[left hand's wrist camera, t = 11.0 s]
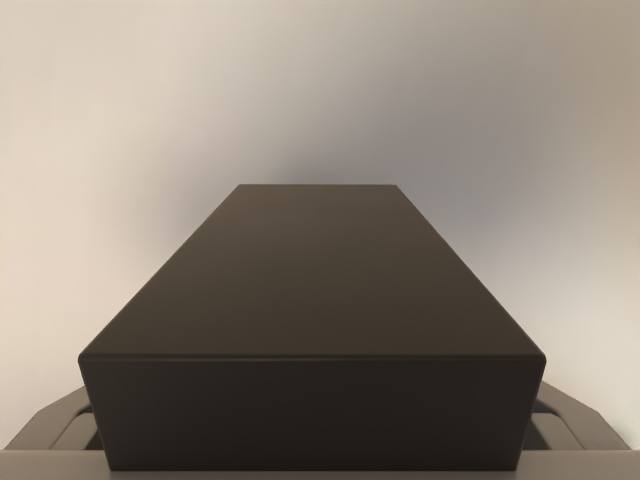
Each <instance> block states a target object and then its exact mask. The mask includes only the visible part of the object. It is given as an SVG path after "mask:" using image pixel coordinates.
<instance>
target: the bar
mask: <svg viewBox="0 0 640 480" xmlns="http://www.w3.org/2000/svg"><path fill="white" fill-rule="evenodd" d="M78 364H79V367H80V371H81V374H82V377H83V381H84V384H85V388H86V391H87V394H88V398H89V401H90V405H91V408H92V411H93V415H94V418H95V422H96V425H97V428H98V432H99V435H100V439H101V442H102V446H103V449H104V452H105V456H106V459H107V463H108V466H109V469H110V470H111V471H516V470H517V466H518V463H519V459H520V456H521V452H522V448H523V445H524V441H525V438H526V434H527V430H528V427H529V423H530V420H531V416H532V412H533V409H534V405H535V402H536V398H537V394H538V391H539V387H540V383H541V380H542V376H543V373H544V369H545V365H546V357H545V354H544V353H543V352H542V351H541V350H540V349H539V348H538V346H537V345H536V344H535V343H534V342H533V341H532V340H531V338H530V337H529V336H528V335H527V334H526V333H525V332H524V330H523V329H522V328H521V327H520V326H519V325H518V324H517V322H516V321H515V320H514V319H513V318H512V317H511V316H510V315H509V313H508V312H507V311H506V310H505V309H504V308H503V307H502V305H501V304H500V303H499V302H498V301H497V300H496V299H495V297H494V296H493V295H492V294H491V293H490V292H489V291H488V289H487V288H486V287H485V286H484V285H483V284H482V283H481V281H480V280H479V279H478V278H477V277H476V276H475V275H474V273H473V272H472V271H471V270H470V269H469V268H468V267H467V265H466V264H465V263H464V262H463V261H462V260H461V259H460V257H459V256H458V255H457V254H456V253H455V252H454V251H453V249H452V248H451V247H450V246H449V245H448V244H447V243H446V241H445V240H444V239H443V238H442V237H441V236H440V235H439V233H438V232H437V231H436V230H435V229H434V228H433V227H432V225H431V224H430V223H429V222H428V221H427V220H426V219H425V217H424V216H423V215H422V214H421V213H420V212H419V211H418V210H417V208H416V207H415V206H414V205H413V204H412V203H411V202H410V200H409V199H408V198H407V197H406V196H405V195H404V194H403V192H402V191H401V190H400V189H399V188H398V187H397V186H396V185H259V184H240V185H238V186H237V187H236V188H235V189H234V191H233V192H232V193H231V194H230V195H229V196H228V197H227V198H226V199H225V200H224V201H223V202H222V203H221V204H220V205H219V206H218V208H217V209H216V210H215V211H214V212H213V213H212V214H211V215H210V216H209V217H208V218H207V219H206V220H205V221H204V222H203V224H202V225H201V226H200V227H199V228H198V229H197V230H196V231H195V232H194V233H193V234H192V235H191V236H190V237H189V238H188V239H187V241H186V242H185V243H184V244H183V245H182V246H181V247H180V248H179V249H178V250H177V251H176V252H175V253H174V254H173V255H172V257H171V258H170V259H169V260H168V261H167V262H166V263H165V264H164V265H163V266H162V267H161V268H160V269H159V270H158V271H157V272H156V274H155V275H154V276H153V277H152V278H151V279H150V280H149V281H148V282H147V283H146V284H145V285H144V286H143V287H142V288H141V290H140V291H139V292H138V293H137V294H136V295H135V296H134V297H133V298H132V299H131V300H130V301H129V302H128V303H127V304H126V305H125V307H124V308H123V309H122V310H121V311H120V312H119V313H118V314H117V315H116V316H115V317H114V318H113V319H112V320H111V321H110V323H109V324H108V325H107V326H106V327H105V328H104V329H103V330H102V331H101V332H100V333H99V334H98V335H97V336H96V337H95V338H94V340H93V341H92V342H91V343H90V344H89V345H88V346H87V347H86V348H85V349H84V350H83V351H82V352H81V353H80V354H79V357H78Z"/></svg>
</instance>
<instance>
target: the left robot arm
mask: <svg viewBox="0 0 640 480" xmlns="http://www.w3.org/2000/svg"><path fill="white" fill-rule="evenodd" d="M0 480H640V450H631V449H630V448H629V447H628V445H627V444H626V443H625V442H624V441H623V440H622V439H621V438H620V436H619V435H618V434H617V433H616V432H615V431H614V430H613V429H612V427H611V426H610V425H609V424H608V423H607V422H606V421H605V419H604V418H603V417H602V416H601V415H600V414H599V413H598V412H597V411H595V410H593V409H592V408H590V407H588V406H586V405H584V404H583V403H581V402H579V401H577V400H576V399H574V398H572V397H570V396H568V395H567V394H565V393H563V392H561V391H560V390H558V389H556V388H554V387H552V386H551V385H549V384H547V383H545V382H544V381H542V380H541V383H540V387H539V391H538V394H537V398H536V402H535V405H534V409H533V412H532V416H531V420H530V423H529V427H528V430H527V434H526V438H525V441H524V445H523V448H522V452H521V456H520V459H519V463H518V466H517V470H516V471H111V470H110V469H109V466H108V463H107V459H106V456H105V452H104V449H103V446H102V442H101V439H100V435H99V432H98V428H97V425H96V422H95V418H94V415H93V411H92V408H91V405H90V401H89V398H88V394H87V391H86V388H85V386H83V387H81V388H79V389H78V390H76V391H74V392H72V393H70V394H69V395H67V396H65V397H63V398H61V399H60V400H58V401H56V402H54V403H52V404H51V405H49V406H47V407H45V408H43V409H42V410H40V411H38V412H37V413H36V414H35V415H34V416H33V417H32V419H31V420H30V421H29V422H28V423H27V424H26V425H25V426H24V427H23V429H22V430H21V431H20V432H19V433H18V434H17V435H16V436H15V437H14V439H13V440H12V441H11V442H10V443H9V444H8V445H7V446H6V447H5V448H4V450H0Z"/></svg>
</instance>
